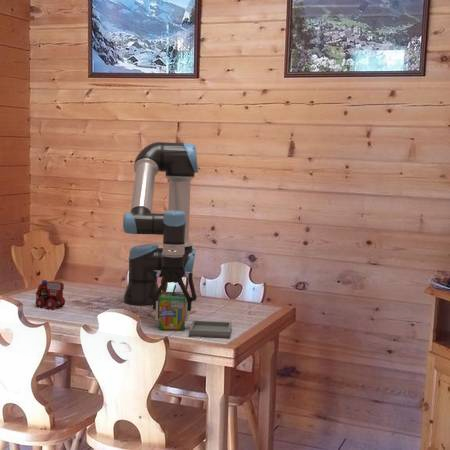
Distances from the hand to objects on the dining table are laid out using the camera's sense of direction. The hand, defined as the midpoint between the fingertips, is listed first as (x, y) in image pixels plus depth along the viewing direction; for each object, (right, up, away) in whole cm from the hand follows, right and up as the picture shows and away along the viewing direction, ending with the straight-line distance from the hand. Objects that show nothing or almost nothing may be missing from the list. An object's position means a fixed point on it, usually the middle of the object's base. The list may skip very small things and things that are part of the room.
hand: (171, 319), depth 238 cm
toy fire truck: (-49, +1, +25) cm, 55 cm away
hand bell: (-4, -1, +16) cm, 17 cm away
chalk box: (0, -3, 0) cm, 3 cm away
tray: (+14, -4, -5) cm, 15 cm away
